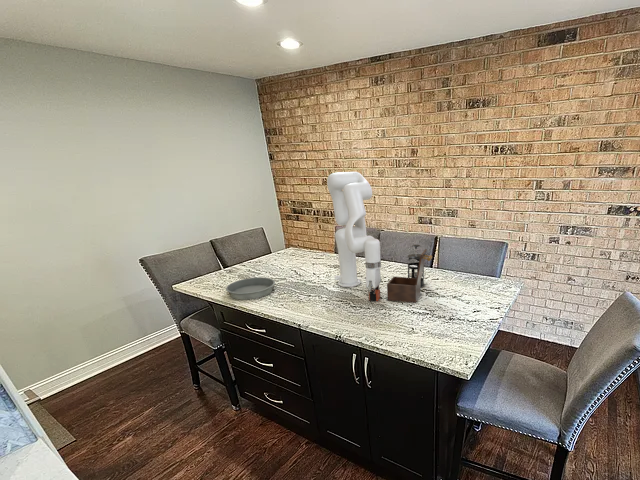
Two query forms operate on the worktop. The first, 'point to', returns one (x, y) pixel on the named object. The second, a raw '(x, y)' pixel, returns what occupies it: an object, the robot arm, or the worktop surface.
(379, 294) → the block
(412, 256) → the french press
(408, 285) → the caddy
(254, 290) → the cake pan
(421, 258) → the lid
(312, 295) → the worktop surface
